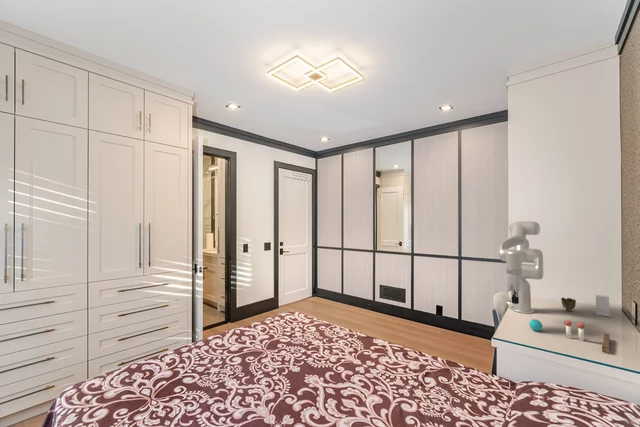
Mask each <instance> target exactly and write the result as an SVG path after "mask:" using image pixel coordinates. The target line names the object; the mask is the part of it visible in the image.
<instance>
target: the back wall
mask: <svg viewBox="0 0 640 427" xmlns="http://www.w3.org/2000/svg"><path fill="white" fill-rule="evenodd" d="M610 340H611V336H610V333H605V332H603V338H602V343H601V350H602V351H601V353H602V352H604V353H603V354H607V353H608V354H609V352H608V351H610V350H609V349H610Z"/></svg>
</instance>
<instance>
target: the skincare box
mask: <svg viewBox="0 0 640 427" xmlns="http://www.w3.org/2000/svg"><path fill="white" fill-rule="evenodd" d="M609 298H610V297H609V295H601V294H595V305H596V306H595V307H596V315H597V316H602V317H611V310H610V299H609Z"/></svg>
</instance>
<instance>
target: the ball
mask: <svg viewBox="0 0 640 427" xmlns="http://www.w3.org/2000/svg"><path fill="white" fill-rule="evenodd" d="M528 324H529V325H528V326H529V327H530V329H532V330H533V331H535V332H537V331H538V332H539V331H541V330H543V324H542V321H540V320H538V319H536V318H535V319H534V318H533V319H531V320H530V321H529V323H528Z"/></svg>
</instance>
